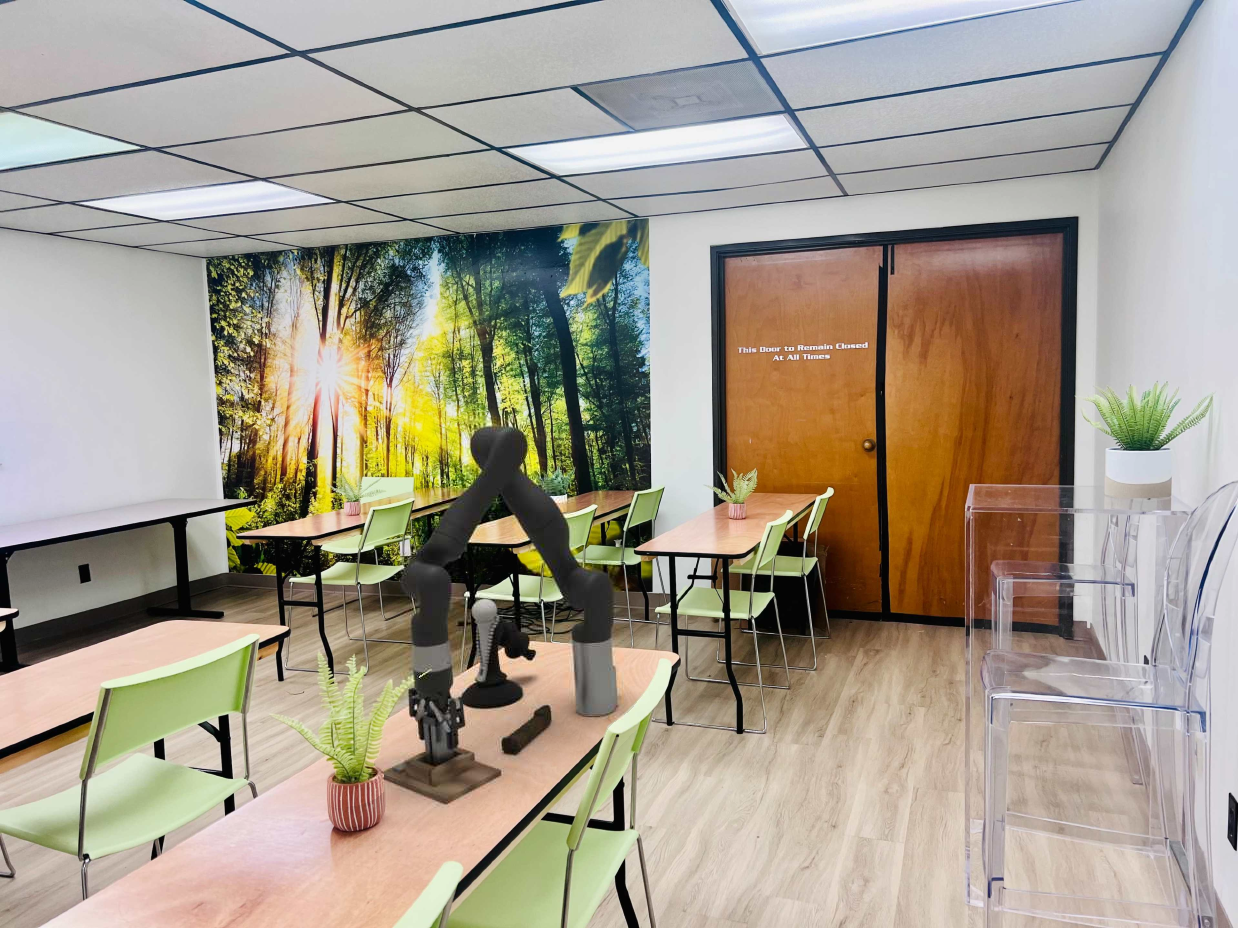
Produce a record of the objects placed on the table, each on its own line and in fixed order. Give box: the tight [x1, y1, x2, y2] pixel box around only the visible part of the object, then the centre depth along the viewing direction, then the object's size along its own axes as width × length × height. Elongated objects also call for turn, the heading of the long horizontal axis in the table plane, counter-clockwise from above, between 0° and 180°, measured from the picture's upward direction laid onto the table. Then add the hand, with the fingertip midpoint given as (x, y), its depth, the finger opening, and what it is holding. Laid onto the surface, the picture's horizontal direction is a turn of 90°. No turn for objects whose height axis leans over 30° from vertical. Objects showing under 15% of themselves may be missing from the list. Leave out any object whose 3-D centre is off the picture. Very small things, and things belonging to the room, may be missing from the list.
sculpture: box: [460, 598, 537, 710], centre depth 214 cm, size 15×24×25 cm, turn 147°
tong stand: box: [381, 746, 502, 805], centre depth 169 cm, size 14×20×4 cm
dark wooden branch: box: [500, 704, 552, 755], centre depth 186 cm, size 19×4×5 cm, turn 155°
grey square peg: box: [423, 711, 454, 767], centre depth 169 cm, size 4×4×13 cm
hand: (438, 743), depth 169 cm, fingers open, 8 cm apart
